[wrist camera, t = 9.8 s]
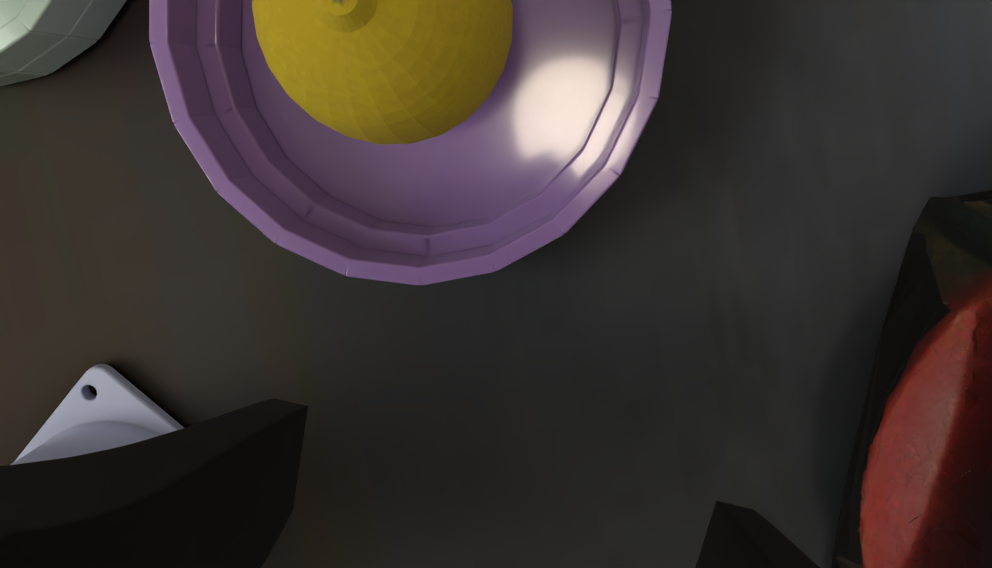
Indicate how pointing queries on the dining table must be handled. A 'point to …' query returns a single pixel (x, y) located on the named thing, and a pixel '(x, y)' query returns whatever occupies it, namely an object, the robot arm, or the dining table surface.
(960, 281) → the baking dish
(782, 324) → the dining table surface
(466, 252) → the lavender bowl
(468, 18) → the lemon
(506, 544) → the dining table surface
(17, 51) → the celadon bowl
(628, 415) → the dining table surface
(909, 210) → the dining table surface
